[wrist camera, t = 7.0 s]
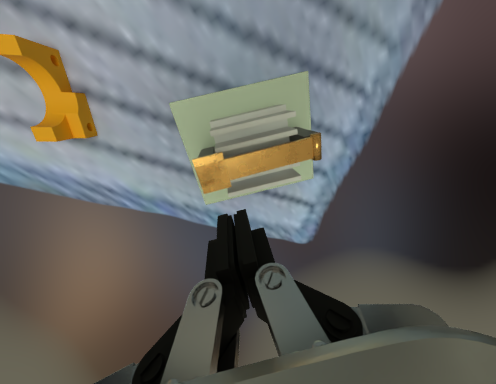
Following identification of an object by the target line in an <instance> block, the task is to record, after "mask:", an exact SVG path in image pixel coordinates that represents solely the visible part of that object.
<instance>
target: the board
mask: <svg viewBox="0 0 496 384" xmlns="http://www.w3.org/2000/svg"><path fill="white" fill-rule="evenodd" d="M169 105H170V108H171V111H172V113H173V116H174V119H175V121H176V124H177V127H178V130H179V132H180V135H181V138H182V141H183V143H184V146H185V149H186V152H187V154H188V157H189V160H190V163H191V165H192V168H193V171H194V174H195V176H196V179H197V182H198V185H199V187H200V190H201V193H202V196H203V198H204V201H205V204H206V205H207V204H211V203H215V202H219V201H224V200H228V199H232V198H236V197H240V196H244V195H248V194H252V193H256V192H260V191H264V190H268V189H272V188H276V187H280V186H284V185H288V184H292V183H296V182H300V181H304V180H308V179H312V178H313V160H311V159H309V160H305V161H302V162H298V163H294V164H290V165H286V166H283V167H279V168H275V169H271V170H268V171H264V172H260V173H256V174H252V175H249V176H245V177H241V178H237V179H234V180H230V182H231V186H232V187H229V188H225V189H222V190H218V191H214V192H210V193H207V194H204V193H203V190H202V187H201V184H200V182H199V179H198V176H197V173H196V170H195V168H194V165H193V162H192V159H195V158H199V157H203V156H207V155H211V154H214V153H218V152H222V153H223V157H224V159H225V158H229V157H233V156H237V155H241V154H245V153H249V152H253V151H257V150H261V149H264V148H268V147H272V146H276V145H280V144H284V143H288V142H292V141H296V140H300V139H304V138H308V137H310V134H312V133H318V132H314V131H311V120H310V100H309V80H308V71H306V72H301V73H297V74H293V75H288V76H284V77H280V78H276V79H271V80H267V81H263V82H258V83H254V84H250V85H245V86H241V87H237V88H232V89H228V90H224V91H219V92H215V93H211V94H207V95H202V96H198V97H194V98H189V99H185V100H181V101H176V102H172V103H169Z"/></svg>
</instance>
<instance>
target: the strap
mask: <svg viewBox="0 0 496 384" xmlns="http://www.w3.org/2000/svg"><path fill="white" fill-rule="evenodd" d="M309 159H311V160H320V159H322V156H321V133H312V134H310V137H308V138H304V139H300V140H296V141H292V142H288V143H284V144H280V145H276V146H272V147H268V148H264V149H261V150H257V151H253V152H249V153H245V154H241V155H237V156H233V157H229V158H225V159H224V157H223V153H222V152H218V153H214V154H211V155H207V156H203V157H199V158H195V159H192V162H193V165H194V168H195V170H196V173H197V176H198V179H199V182H200V184H201V187H202V190H203V193H204V194H207V193H210V192H214V191H218V190H222V189H225V188H229V187H232V186H231V182H230V180H234V179H237V178H241V177H245V176H249V175H252V174H256V173H260V172H264V171H268V170H271V169H275V168H279V167H283V166H286V165H290V164H294V163H298V162H302V161H305V160H309Z"/></svg>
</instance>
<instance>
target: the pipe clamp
mask: <svg viewBox="0 0 496 384" xmlns="http://www.w3.org/2000/svg"><path fill="white" fill-rule="evenodd" d="M0 55H2V56H4V57H7V58H9V59H11V60H12V61H14V62H16V63H17V64H19V65H20V66H21V67H22V68H24V69H25V70H26V71H27V72H28V73H29V74H30V75H31V76H32V78H33V79H34V80H35V81H36V83H37V84H38V86H39V88H40V89H41V91H42V94H43V96H44V99H45V103H46V114H45V117H44V119H43V120H42V122H41V123H39V124H38V125H36V126H33V127H30V128H31V130H32V132H33V134H34V136H35V139H36V141H54V142H57V141H62V140H67V139H72V138H89V137H93V136H97V131H96V128H95V125H94V122H93V118H92V115H91V112H90V109H89V106H88V102H87V99H86V96H85V94H83V93H72V90H71V87H70V84H69V81H68V78H67V75H66V72H65V69H64V66H63V63H62V60H61V57H60V54H59V51H58V50H56V49H53V48H50V47H47V46H44V45H42V44H39V43H36V42H33V41H30V40H27V39H24V38H21V37H18V36H15V35H7V34H0Z"/></svg>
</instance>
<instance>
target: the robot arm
mask: <svg viewBox="0 0 496 384" xmlns="http://www.w3.org/2000/svg"><path fill="white" fill-rule="evenodd" d="M234 223H235V226H234ZM248 295H249V298H250V301H251V304H252V307H253V308H255V310H256V313H257V316H258V317H259V318H260V319H261V320H263V321H264V322H266V323H267V324H268V327H269V330H270V333H271V336H272V339H273V341H274V344H275V347H276V350H277V353H278V356H279V357H276V358H272V359H268V360H264V361H261V362H257V363H253V364H249V365H245V366H241V367H238V362H239V344H240V326H241V325H242V323H243V321H244V318H246V317H247V315H246V310H247V309H249V300H248ZM94 384H496V338H495V337H492V336H489V335H485V334H482V333H478V332H474V331H470V330H464V329H460V328H455V327H449V326H448V325H447V324H446V323H445V321H444V320H443V319H442V318H441V317H440V316H439V315H437V314H436V313H434V312H433V311H431V310H430V309H428V308H425V307H423V306H421V305H414V304H358V307H349V306H348V305H346V304H344V303H342V302H340V301H338V300H336V299H334V298H332V297H330V296H327V295H325V294H323V293H321V292H319V291H317V290H314V289H313V288H311V287H308V286H306V285H304V284H302V283H300V282H298V281H296V280H293V278H292V277H291V275H290V273H289V272H288V270H287V269H286V268H285V267H284V266H282V265H281V264H278V263H275V261H274V258H273V255H272V252H271V249H270V246H269V243H268V239H267V236H266V233H265V230H264V228H259V229H255V230H251V228H250V224H249V220H248V216H247V213H246V209H244V210H240V211H237V214H234V222H233V219H232V216H231V215H230V216H228V214H224V215H220V216H218V222H217V239H215V240H211V241H209V243H208V252H207V262H206V270H205V280H203V281H201V282H199V283H198V284H197V285H195V287H194V288H193V289H192V290H191V293H190V294H189V296H188V299H187V303H186V306H185V309H184V312H183V314H182V316H180V317H179V319H178V320H177V321H176V322H175V323H174V324H173V325H172V326H171V327H170V328H169V329H168V330H167V332H166V333H165V334H164V335H163V336H162V337H161V338H160V339H159V340H158V342H157V343H156V344H155V345H154V346H153V347H152V348H151V349H150V350H149V351H148V352H147V353H146V354H145V356H144V357H143V358H142V360H141V361H140V363H138V364H135V363H132V364H130V365H128V366H126V367H124V368H122V369H121V370H119V371H117V372H115V373H113V374H111V375H109V376H107V377H105V378H103V379H101V380H100V381H98V382H96V383H94Z"/></svg>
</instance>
